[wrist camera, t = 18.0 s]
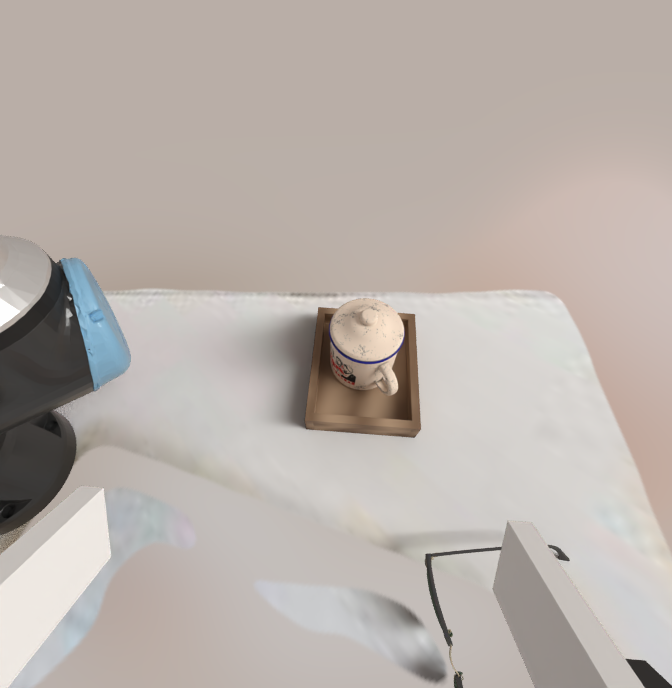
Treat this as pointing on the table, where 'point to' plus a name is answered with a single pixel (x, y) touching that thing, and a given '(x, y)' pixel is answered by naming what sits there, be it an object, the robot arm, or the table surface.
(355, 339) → the teacup with lid
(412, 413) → the walnut tray
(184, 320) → the table surface
